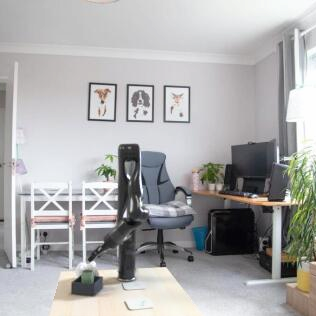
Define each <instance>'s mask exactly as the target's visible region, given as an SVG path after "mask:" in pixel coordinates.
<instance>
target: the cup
mask: <svg viewBox="0 0 316 316" xmlns="http://www.w3.org/2000/svg"><path fill="white" fill-rule="evenodd" d="M81 283H92V284H94V270H91V269H87V270H83V269H82V272H81Z"/></svg>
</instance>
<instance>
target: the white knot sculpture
mask: <svg viewBox="0 0 316 316" xmlns="http://www.w3.org/2000/svg"><path fill="white" fill-rule="evenodd" d="M96 266H97V263H96V262H95V261H94V260H93V261H92V262H89V263H88V264H87V262H84V261H81V262H79V263H78V264H77V266H76V268H75V274H76V278H78V277H79V276H80V275H81V272H82V270H87V269H91V270H94V276H100V273H99V271H98V269H97V267H96Z"/></svg>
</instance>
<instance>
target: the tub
mask: <svg viewBox="0 0 316 316" xmlns="http://www.w3.org/2000/svg"><path fill="white" fill-rule="evenodd" d="M103 278H104V276H101V275H99V276H94V284H92V283H81V275H80V276H79V277H76V278H75V279H73V281H71V286H70V295H74V296H75V295H76V296H86V297H95V296H96V295H97V294H98V293H100V291H101V290H102V289H103V288H104V287H103V286H104V284H103V283H104V279H103Z"/></svg>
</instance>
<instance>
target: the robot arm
mask: <svg viewBox="0 0 316 316" xmlns="http://www.w3.org/2000/svg"><path fill="white" fill-rule="evenodd" d="M117 163H118V164H117V168H118V169H117V170H118V172H117V173H118V174H117V175H118V176H117V211H116V225H115V226H114V227H112V228H111V230H109V231H108V232H107V233H106V234H105V235H104V236H103V238H102V239H103V243H100V245H98V246H97V247H96V249H94V250H93V251H92V252H91V254H90V255H89V257H88V258H87V261H88V262H89V263H91V262H92V261H94V260H95V259H96V258H98V259H99V258H101V257H102V256H103V255H104V254H105V253H107V252H109V251H110V249H111V250H114V249H116V248H117V247H118V252H117V253H118V256H117V257H118V258H117V259H118V262H117V263H118V264H117V270H116V271H117V280H118V281H119V282H126V283H128V282H129V283H130V282H133V281H135V280H136V270H137V267H136V255H137V254H136V253H137V251H136V250H137V247H136V242H137V241H136V238H137V228H138V227H140V226H141V225H143V224H145V222H146V221H147V220H148V219H149V217H150V216H149V215H150V213H149V210H148V208H146V207H145V206H141V202H142V201H144V199H145V197H144V196H145V195H144V189H143V181H142V151H141V147H140V144H138V143H135V142H134V143H120V144H119V145H118V147H117ZM126 163H134V167H133V170H132V173H131V174H130V173H129V172H128V170H127V168H126ZM126 212H127V215H128V217H124V215H125V213H126ZM127 236H128V237H127ZM126 237H127V238H126Z"/></svg>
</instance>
